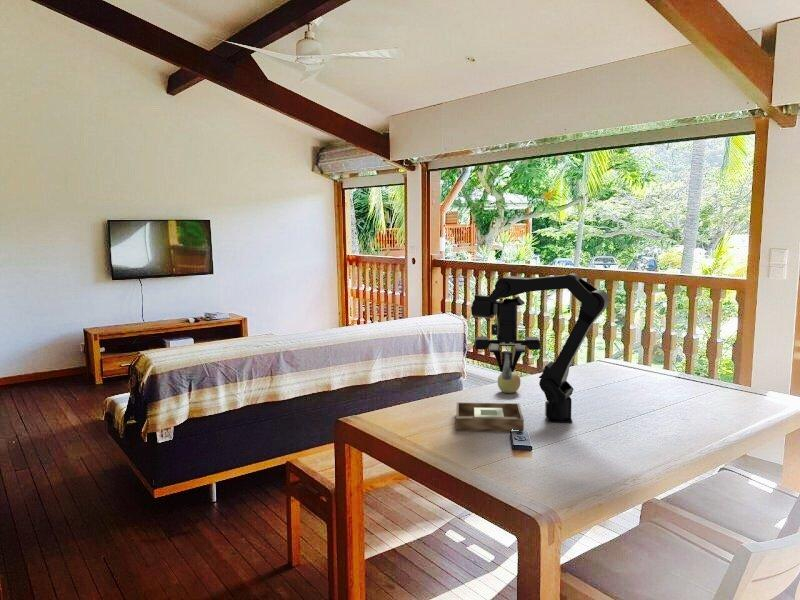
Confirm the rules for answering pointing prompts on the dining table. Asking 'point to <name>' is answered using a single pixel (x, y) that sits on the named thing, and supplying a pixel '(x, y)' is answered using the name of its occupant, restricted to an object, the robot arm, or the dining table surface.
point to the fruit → (509, 383)
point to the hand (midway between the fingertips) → (506, 371)
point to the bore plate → (488, 413)
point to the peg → (506, 365)
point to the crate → (506, 424)
